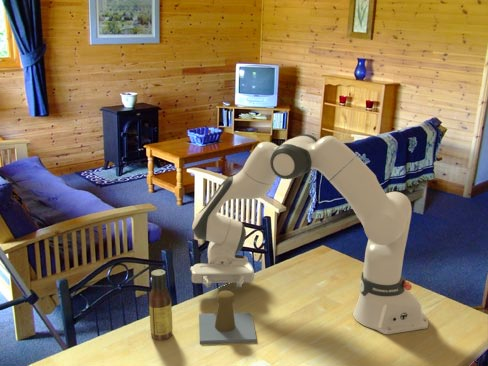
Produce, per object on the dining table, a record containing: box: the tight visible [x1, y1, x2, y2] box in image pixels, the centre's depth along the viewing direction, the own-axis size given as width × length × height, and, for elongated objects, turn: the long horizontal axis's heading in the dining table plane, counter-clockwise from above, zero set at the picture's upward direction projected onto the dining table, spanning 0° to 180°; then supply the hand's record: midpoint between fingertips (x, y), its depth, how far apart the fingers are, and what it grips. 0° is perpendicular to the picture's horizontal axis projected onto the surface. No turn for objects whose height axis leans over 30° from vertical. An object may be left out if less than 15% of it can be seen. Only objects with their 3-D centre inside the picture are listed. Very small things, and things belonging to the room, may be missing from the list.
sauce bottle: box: [148, 269, 173, 341], centre depth 150 cm, size 7×6×20 cm
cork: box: [215, 290, 236, 332], centre depth 155 cm, size 6×6×11 cm
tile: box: [198, 312, 257, 345], centre depth 157 cm, size 16×14×1 cm
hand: (224, 285), depth 166 cm, fingers open, 8 cm apart
